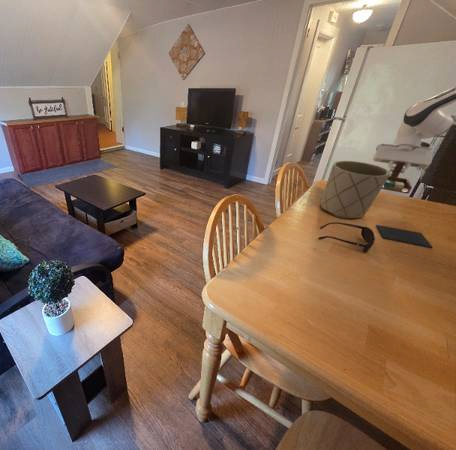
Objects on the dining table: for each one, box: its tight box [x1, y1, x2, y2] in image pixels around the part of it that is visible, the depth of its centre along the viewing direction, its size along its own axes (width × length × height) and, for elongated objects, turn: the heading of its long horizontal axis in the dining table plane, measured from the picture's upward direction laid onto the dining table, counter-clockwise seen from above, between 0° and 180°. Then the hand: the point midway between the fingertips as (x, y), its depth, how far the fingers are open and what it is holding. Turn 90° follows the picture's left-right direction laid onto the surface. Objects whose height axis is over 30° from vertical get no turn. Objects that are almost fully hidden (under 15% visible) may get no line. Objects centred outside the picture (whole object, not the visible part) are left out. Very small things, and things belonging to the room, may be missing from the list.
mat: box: [376, 224, 433, 249], centre depth 93 cm, size 14×10×1 cm
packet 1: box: [384, 180, 394, 187], centre depth 113 cm, size 4×3×2 cm
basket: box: [381, 161, 413, 195], centre depth 111 cm, size 14×10×10 cm
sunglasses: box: [318, 221, 376, 253], centre depth 89 cm, size 14×16×5 cm
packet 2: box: [394, 182, 404, 189], centre depth 112 cm, size 4×3×2 cm
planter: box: [320, 160, 391, 219], centre depth 105 cm, size 19×19×20 cm
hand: (396, 171), depth 115 cm, fingers closed on basket, 2 cm apart
